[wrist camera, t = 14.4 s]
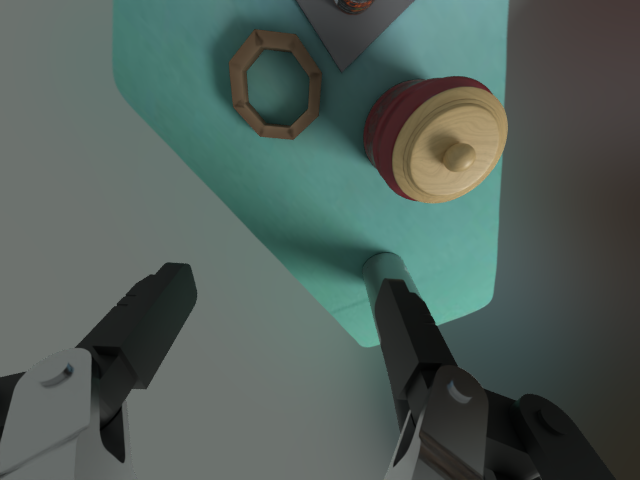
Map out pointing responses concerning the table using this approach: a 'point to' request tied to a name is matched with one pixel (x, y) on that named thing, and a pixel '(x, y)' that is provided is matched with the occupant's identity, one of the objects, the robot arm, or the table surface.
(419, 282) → the table surface
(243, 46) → the collar
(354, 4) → the supplement bottle
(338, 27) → the coaster
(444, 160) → the canister
